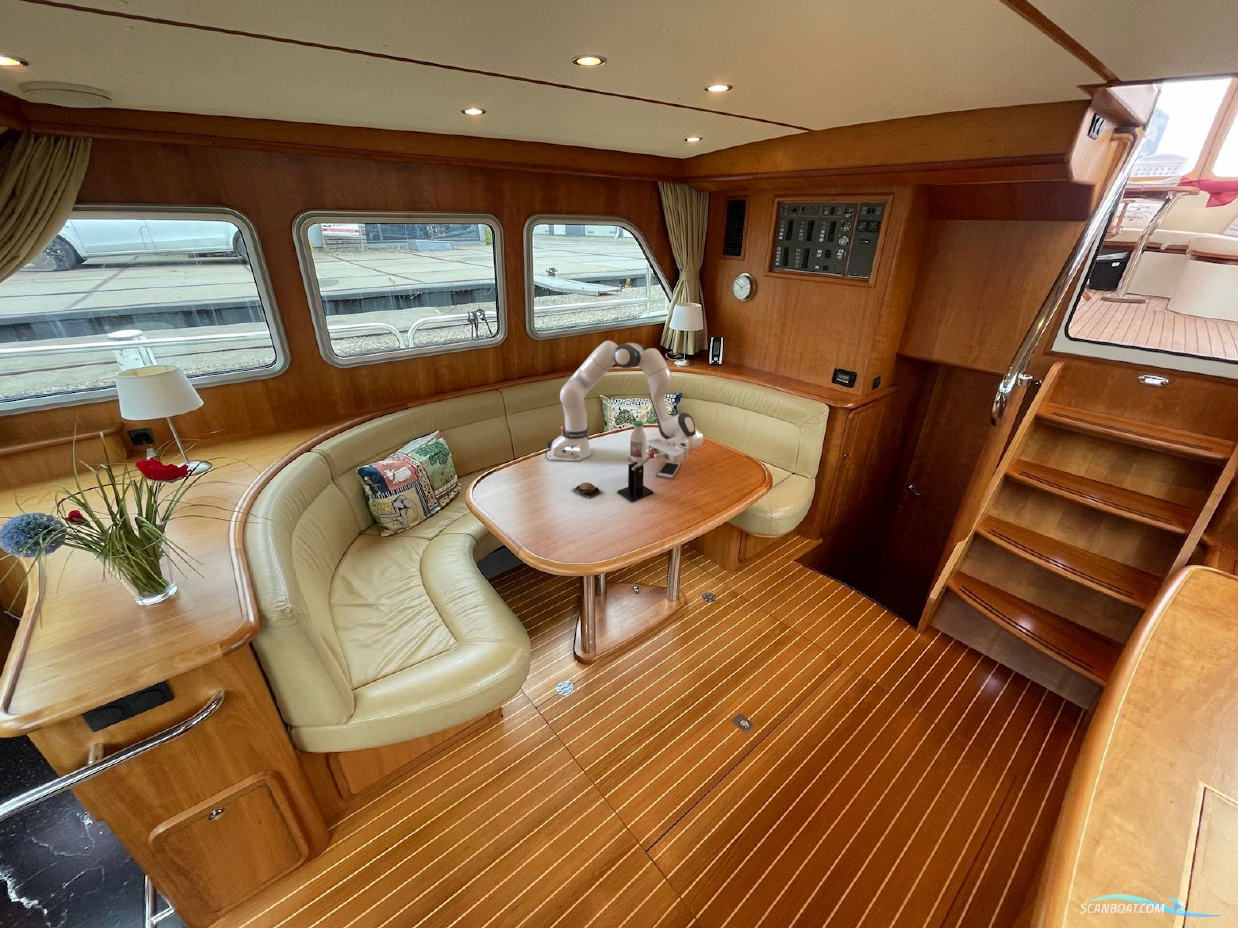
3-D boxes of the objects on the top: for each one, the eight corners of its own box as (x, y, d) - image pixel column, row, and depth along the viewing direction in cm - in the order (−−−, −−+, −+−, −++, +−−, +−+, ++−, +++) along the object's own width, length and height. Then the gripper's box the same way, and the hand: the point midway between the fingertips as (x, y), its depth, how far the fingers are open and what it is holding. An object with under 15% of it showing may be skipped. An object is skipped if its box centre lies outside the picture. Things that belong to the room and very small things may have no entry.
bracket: (638, 485, 216) (639, 457, 210) (653, 493, 209) (654, 465, 203) (617, 492, 210) (617, 464, 204) (631, 502, 202) (632, 473, 196)
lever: (653, 453, 210) (651, 447, 208) (659, 456, 207) (656, 450, 205) (632, 472, 206) (629, 466, 204) (637, 475, 203) (634, 469, 201)
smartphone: (657, 476, 224) (657, 474, 223) (666, 462, 237) (666, 460, 236) (671, 478, 221) (672, 476, 221) (680, 464, 234) (680, 463, 234)
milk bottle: (637, 454, 245) (638, 418, 236) (648, 459, 240) (649, 422, 231) (627, 459, 240) (627, 421, 231) (638, 464, 235) (639, 426, 226)
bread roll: (571, 491, 211) (571, 483, 210) (585, 484, 217) (585, 477, 215) (588, 499, 205) (588, 491, 203) (602, 492, 210) (602, 484, 209)
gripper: (659, 433, 220) (635, 440, 213) (690, 448, 206) (667, 456, 198) (658, 446, 223) (635, 453, 215) (689, 461, 208) (666, 470, 201)
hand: (650, 455), depth 207 cm, fingers closed on lever, 3 cm apart
